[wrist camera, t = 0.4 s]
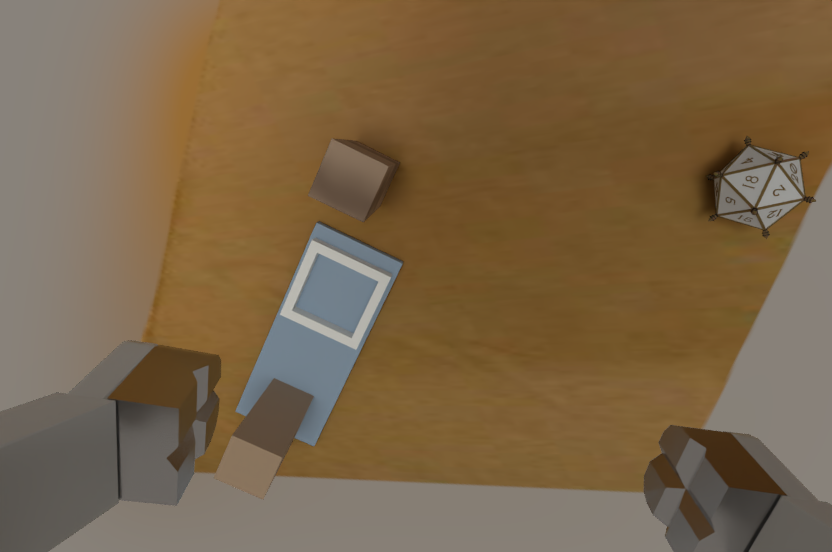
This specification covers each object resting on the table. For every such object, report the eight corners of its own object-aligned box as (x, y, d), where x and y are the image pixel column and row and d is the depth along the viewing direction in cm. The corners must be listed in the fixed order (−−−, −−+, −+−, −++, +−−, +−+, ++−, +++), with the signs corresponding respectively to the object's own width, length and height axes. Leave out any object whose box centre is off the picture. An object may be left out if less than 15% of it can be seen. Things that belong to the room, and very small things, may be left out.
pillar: (356, 140, 52) (331, 138, 40) (400, 162, 52) (388, 166, 41) (336, 185, 53) (307, 195, 42) (380, 206, 54) (363, 222, 42)
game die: (705, 167, 55) (742, 104, 46) (792, 191, 52) (849, 129, 43) (680, 235, 52) (714, 183, 43) (769, 264, 50) (826, 214, 41)
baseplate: (318, 221, 54) (282, 243, 42) (403, 261, 55) (392, 295, 42) (238, 407, 60) (185, 475, 48) (316, 441, 61) (283, 518, 48)
